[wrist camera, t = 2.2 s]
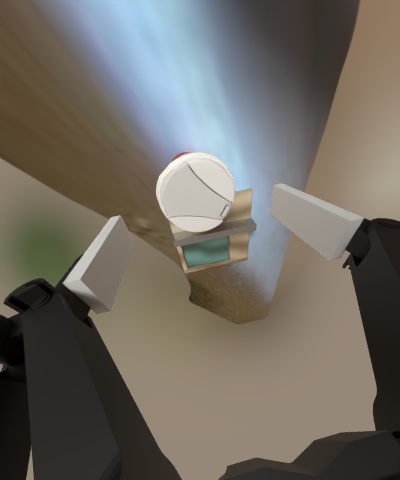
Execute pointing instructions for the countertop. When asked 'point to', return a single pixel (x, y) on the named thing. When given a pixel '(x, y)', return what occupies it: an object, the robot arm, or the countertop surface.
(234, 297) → the countertop surface
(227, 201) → the coffee cup
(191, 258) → the board
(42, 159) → the countertop surface
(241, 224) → the rail
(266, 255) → the countertop surface
